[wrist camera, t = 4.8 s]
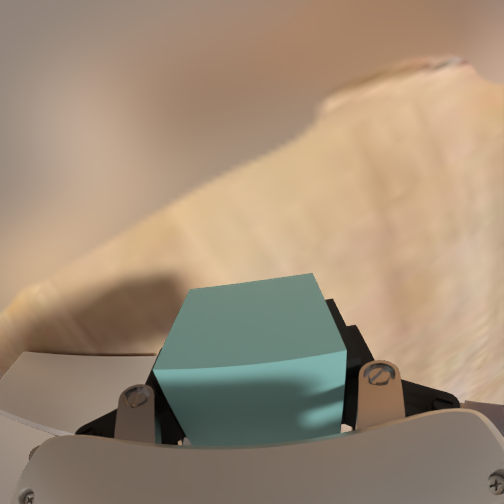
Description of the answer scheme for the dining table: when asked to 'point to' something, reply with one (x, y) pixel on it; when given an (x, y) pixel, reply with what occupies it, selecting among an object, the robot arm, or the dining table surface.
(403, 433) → the robot arm
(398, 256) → the dining table surface
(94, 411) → the tray
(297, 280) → the teal block
